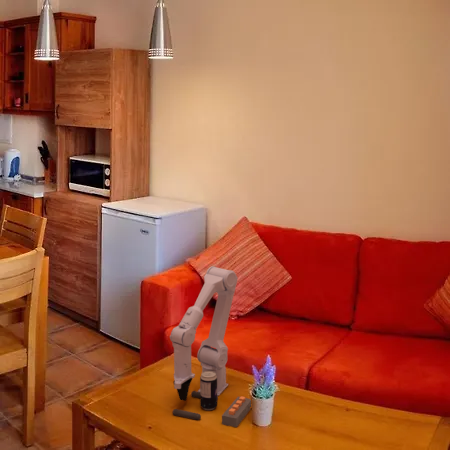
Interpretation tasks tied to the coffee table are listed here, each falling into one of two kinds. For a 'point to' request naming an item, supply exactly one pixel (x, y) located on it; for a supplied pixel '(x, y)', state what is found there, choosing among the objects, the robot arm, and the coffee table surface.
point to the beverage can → (208, 390)
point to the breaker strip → (236, 411)
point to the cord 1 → (186, 414)
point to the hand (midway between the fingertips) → (183, 399)
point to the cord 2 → (196, 394)
